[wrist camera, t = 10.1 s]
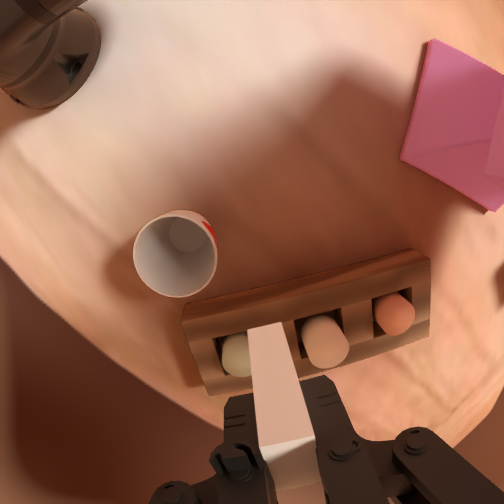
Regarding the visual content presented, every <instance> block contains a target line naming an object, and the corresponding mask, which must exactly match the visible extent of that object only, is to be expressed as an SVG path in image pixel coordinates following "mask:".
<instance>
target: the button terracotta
mask: <svg viewBox="0 0 504 504" xmlns="http://www.w3.org/2000/svg"><path fill="white" fill-rule="evenodd" d="M371 302H372V317H373V318H374V319H375V320H376V322H377V323H378V324H379V325H380V326H381V328H382V329H383V330H384V331H385V332H386V333H387V334H388V335H391V336H396V335H400V334H402V333H404V332H405V331H406V330H408V329H409V327H410V326H411V325H412V323H413V321H414V318H415V309H414V307H413V306H412V304H410V303H409V302H408V301H407V300H406V299H405V298H404V297H403V296H401V295H400V294H399V293H398V292H397V291H395V292H392V293H389V294H386V295H382V296H379V297H376V298H372V299H371Z"/></svg>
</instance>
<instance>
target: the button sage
mask: <svg viewBox="0 0 504 504" xmlns="http://www.w3.org/2000/svg"><path fill="white" fill-rule="evenodd" d="M222 365H223V367H224V369H225V370H226V371H227V372H228V373H229V374H231V375H233V376H236V377H247V376H251V375H252V373H251V363H250V353H249V343H248V333H247V331H244V332H240V333H235V334H230V335H226V336H223V346H222Z"/></svg>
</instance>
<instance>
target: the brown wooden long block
mask: <svg viewBox="0 0 504 504" xmlns="http://www.w3.org/2000/svg"><path fill="white" fill-rule="evenodd" d="M395 291H397V292H398V293H399V294H400V295H401V296H403V297H404V298H405V299H406V300H407V301H408V302H409V303H410V304H412V306H413V307H414V309H415V318H414V321H413V323H412V325H411V326H410V327H409V329H408V330H406V331H405V332H404V333H402V334H400V335H396V336H391V335H388V334H387V333H386V332H385V331H384V330H383V329H382V328H381V326H380V325H379V324H378V323H377V322H376V320H375V319H374V318H373V317H372V302H371V299H372V298H376V297H379V296H382V295H386V294H389V293H392V292H395ZM430 294H431V274H430V258H428V257H426V256H424V255H423V254H421V253H419V252H417V251H415V250H414V249H412V248H411V249H408V250H404V251H400V252H397V253H393V254H389V255H386V256H382V257H378V258H375V259H371V260H367V261H363V262H360V263H356V264H352V265H348V266H344V267H340V268H337V269H333V270H329V271H325V272H321V273H317V274H313V275H309V276H305V277H301V278H297V279H293V280H289V281H284V282H280V283H276V284H272V285H268V286H264V287H259V288H255V289H251V290H246V291H242V292H238V293H233V294H229V295H225V296H220V297H216V298H211V299H207V300H202V301H197V302H193V303H188V304H185V308H184V311H183V314H182V318H181V321H180V323H181V326H182V328H183V331H184V334H185V336H186V339H187V342H188V344H189V347H190V350H191V352H192V355H193V357H194V360H195V362H196V365H197V368H198V370H199V373H200V375H201V378H202V380H203V382H204V385H205V387H206V390H207V392H208V394H209V396H213V395H219V394H225V393H230V392H236V391H241V390H246V389H251V388H253V383H252V375H251V376H247V377H236V376H233V375H231V374H229V373H228V372H227V371H226V370H225V369H224V367H223V365H222V346H223V336H226V335H230V334H235V333H240V332H244V331H247V330H248V329H252V328H257V327H261V326H265V325H270V324H274V323H278V322H281V323H282V326H283V330H284V333H285V336H286V340H287V343H288V346H289V350H290V353H291V356H292V360H293V363H294V367H295V370H296V373H297V377H298V378H300V377H304V376H308V375H311V374H315V373H319V372H323V371H326V370H330V369H333V368H337V367H340V366H344V365H347V364H350V363H354V362H357V361H360V360H363V359H366V358H369V357H372V356H375V355H378V354H381V353H384V352H387V351H390V350H393V349H396V348H399V347H401V346H404V345H407V344H410V343H412V342H415V341H418V340H420V339H423V338H425V337H428V336H429V326H430ZM316 314H327V315H330V316H331V317H333V318H334V320H335V321H336V323H337V324H338V326H339V328H340V329H341V331H342V333H343V334H344V336H345V338H346V339H347V341H348V343H349V352H348V354H347V356H346V358H345V359H344V360H343V361H342V362H341V363H340V364H338V365H337V366H334V367H332V368H326V369H323V368H318V367H316V366H314V365H313V364H312V363H311V362H310V359H309V357H308V354H307V352H306V349H305V346H304V344H303V341H302V338H301V335H300V331H301V327H302V325H303V323H304V322H305V321H306V320H307V319H308V318H309V317H311V316H313V315H316Z"/></svg>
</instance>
